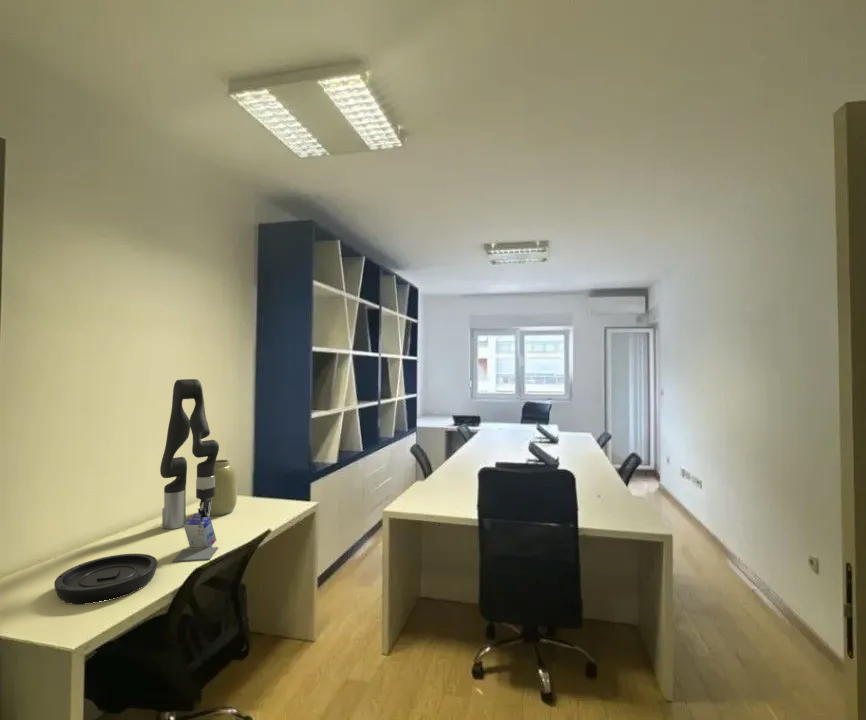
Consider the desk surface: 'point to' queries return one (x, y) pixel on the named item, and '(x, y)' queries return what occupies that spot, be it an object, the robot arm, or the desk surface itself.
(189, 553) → the mat
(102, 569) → the round tray
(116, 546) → the desk surface
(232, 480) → the vase
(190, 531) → the ink cartridge box
